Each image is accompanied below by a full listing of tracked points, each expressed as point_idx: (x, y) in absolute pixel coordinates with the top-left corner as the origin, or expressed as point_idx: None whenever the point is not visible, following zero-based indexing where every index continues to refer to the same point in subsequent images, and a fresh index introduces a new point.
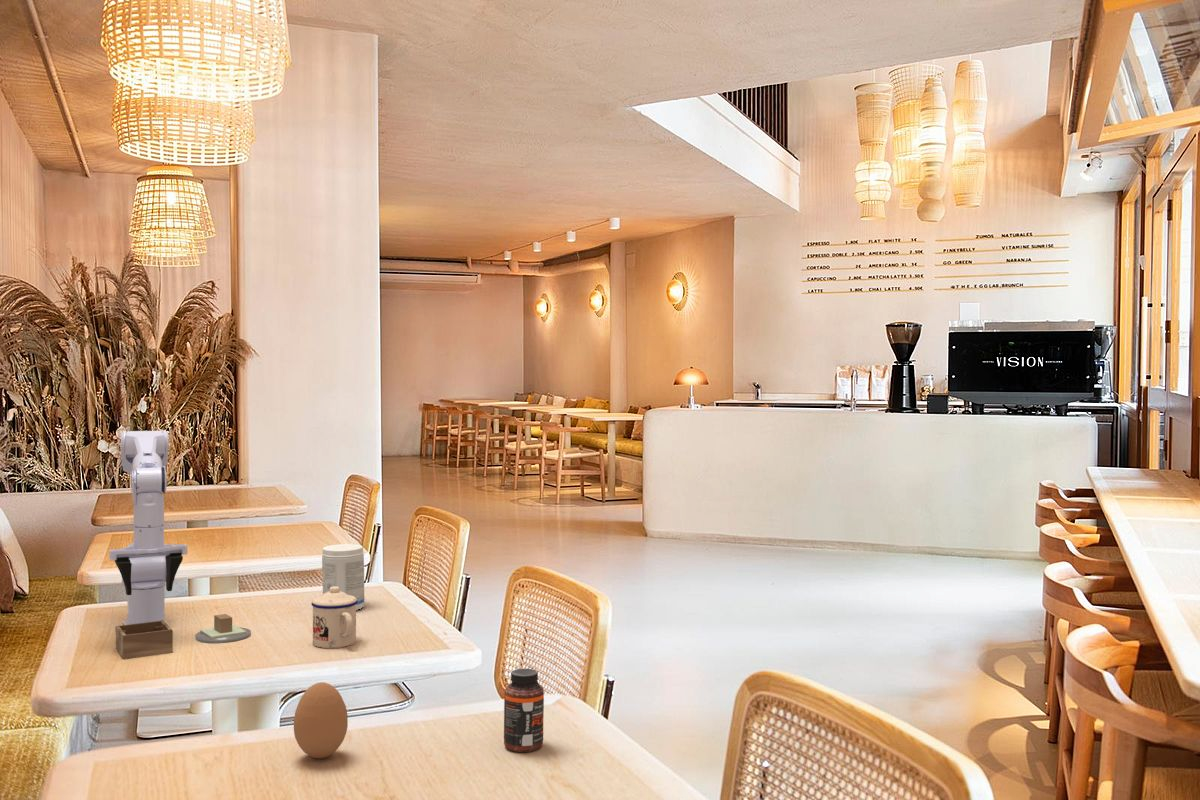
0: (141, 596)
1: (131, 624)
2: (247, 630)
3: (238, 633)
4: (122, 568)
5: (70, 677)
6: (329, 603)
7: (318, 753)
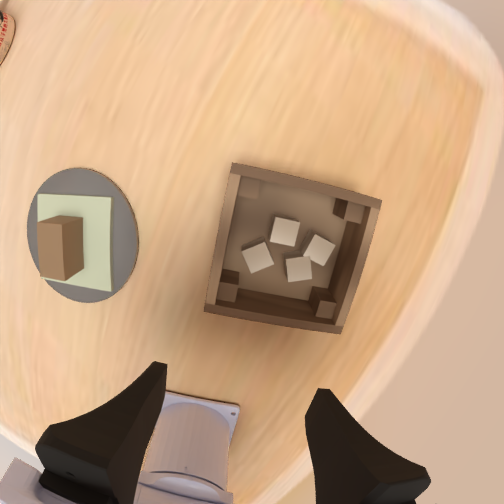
0: (206, 465)
1: (300, 325)
2: (31, 226)
3: (53, 194)
4: (406, 463)
5: (469, 143)
6: None
7: None
